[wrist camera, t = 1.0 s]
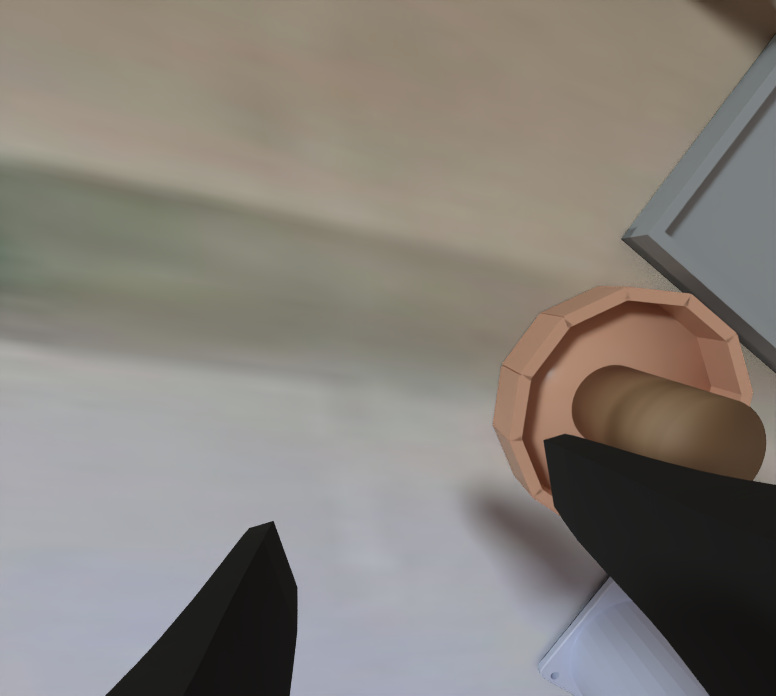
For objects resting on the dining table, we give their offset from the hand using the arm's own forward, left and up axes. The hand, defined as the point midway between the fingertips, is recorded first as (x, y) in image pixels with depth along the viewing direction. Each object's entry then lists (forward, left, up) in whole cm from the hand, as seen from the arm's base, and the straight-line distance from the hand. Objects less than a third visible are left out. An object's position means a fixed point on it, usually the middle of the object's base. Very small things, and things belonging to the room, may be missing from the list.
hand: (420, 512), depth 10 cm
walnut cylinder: (-10, -6, -10) cm, 15 cm away
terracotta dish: (-10, -6, -10) cm, 16 cm away
